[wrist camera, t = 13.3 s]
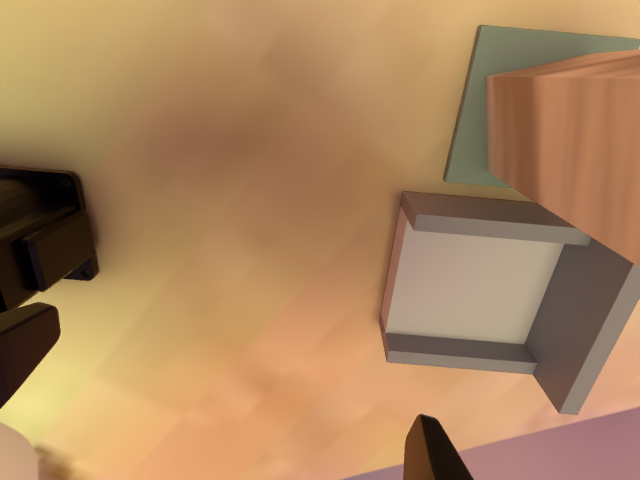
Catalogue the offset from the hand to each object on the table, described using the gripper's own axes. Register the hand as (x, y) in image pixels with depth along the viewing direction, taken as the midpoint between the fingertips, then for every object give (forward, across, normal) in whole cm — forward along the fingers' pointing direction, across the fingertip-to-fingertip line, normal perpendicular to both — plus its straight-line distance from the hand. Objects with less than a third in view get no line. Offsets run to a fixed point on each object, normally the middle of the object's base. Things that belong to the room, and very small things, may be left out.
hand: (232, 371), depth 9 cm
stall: (+13, -9, +2) cm, 16 cm away
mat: (+14, -9, -7) cm, 18 cm away
